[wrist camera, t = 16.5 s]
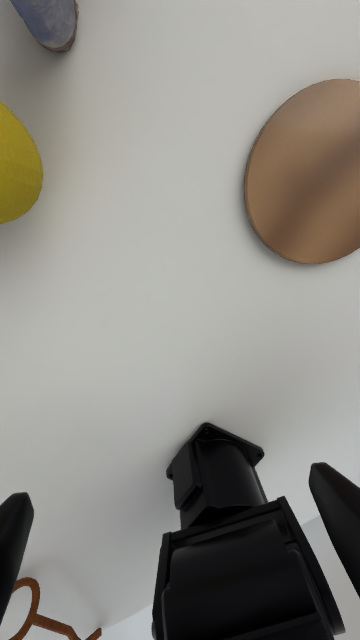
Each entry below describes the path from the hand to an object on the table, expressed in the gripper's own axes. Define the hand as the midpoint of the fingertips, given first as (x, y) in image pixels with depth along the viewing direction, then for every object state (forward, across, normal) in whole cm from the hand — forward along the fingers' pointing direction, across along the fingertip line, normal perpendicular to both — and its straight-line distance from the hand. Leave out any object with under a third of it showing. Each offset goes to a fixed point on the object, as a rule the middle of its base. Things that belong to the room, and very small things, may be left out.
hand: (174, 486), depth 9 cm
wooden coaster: (+12, -10, -10) cm, 19 cm away
